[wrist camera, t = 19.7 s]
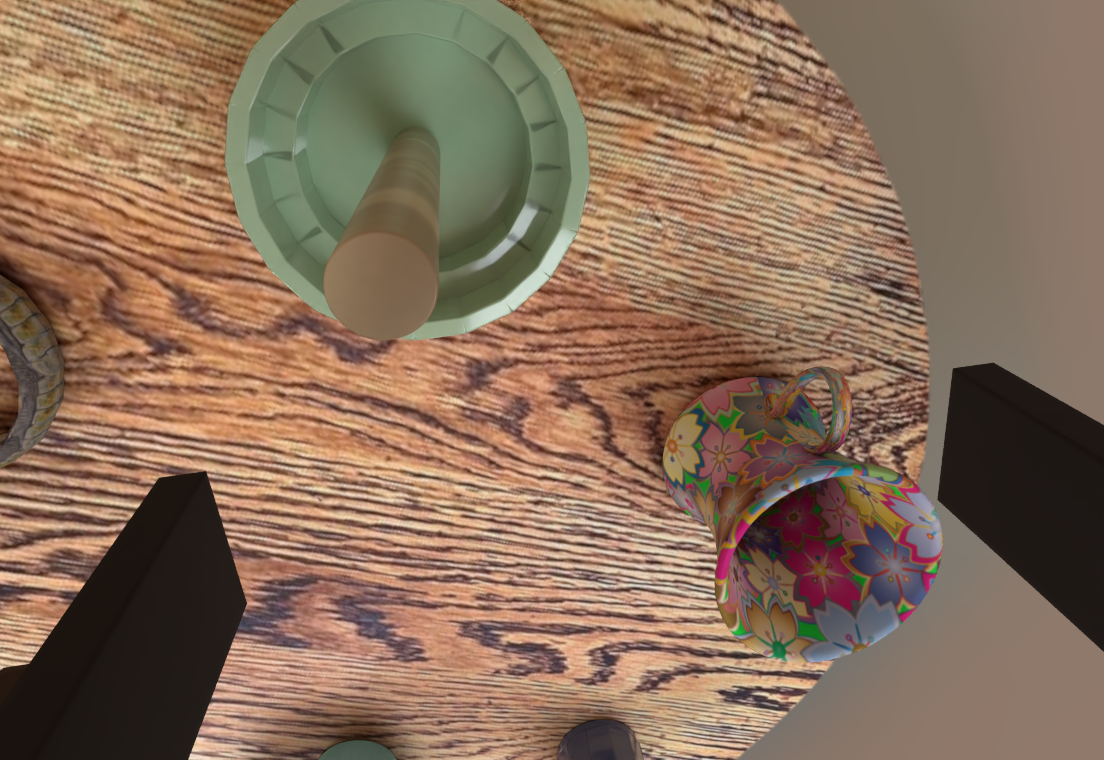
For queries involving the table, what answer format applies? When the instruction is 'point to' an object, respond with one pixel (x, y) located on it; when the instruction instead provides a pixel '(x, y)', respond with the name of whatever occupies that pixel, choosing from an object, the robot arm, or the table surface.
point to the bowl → (386, 109)
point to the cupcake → (357, 751)
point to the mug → (800, 519)
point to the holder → (600, 742)
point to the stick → (391, 245)
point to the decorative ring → (29, 370)
